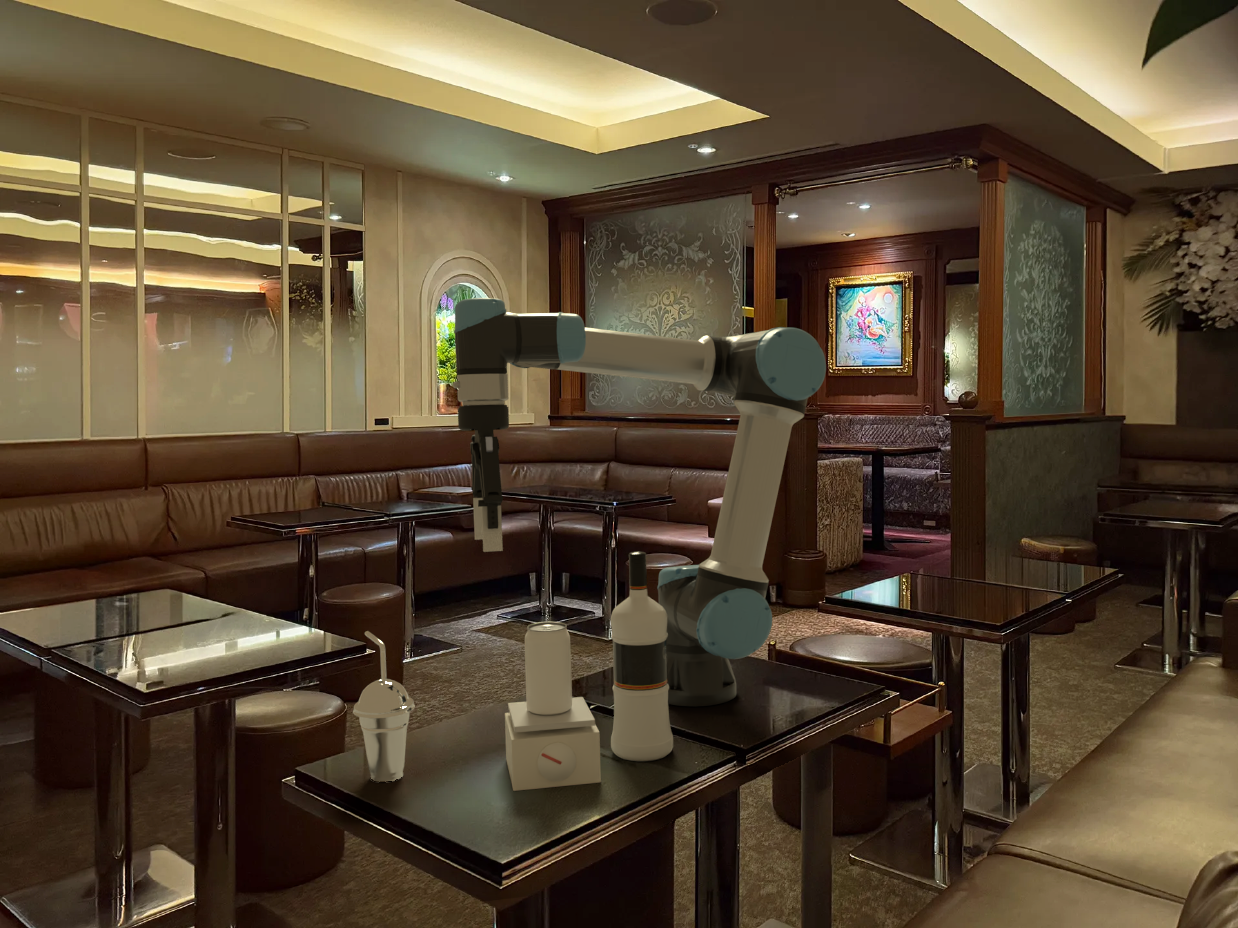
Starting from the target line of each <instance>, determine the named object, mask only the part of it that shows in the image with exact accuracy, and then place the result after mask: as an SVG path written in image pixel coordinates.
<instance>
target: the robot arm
mask: <svg viewBox="0 0 1238 928" xmlns="http://www.w3.org/2000/svg"><path fill="white" fill-rule="evenodd" d="M453 333H454V342H455V343H454V345H455V347H454V348H455V366H456V379H457V381H453V383H452V387H453V388H454V389H457V392H456V393H457V401H458V402H460V403H461V404H462V405H459V406H458V408H457V420H458V421H457V423H458V424H457V425H458V426H457V427H458V429H459V431H463V432H464V431H470V432H471V431H472V432H473V431H474V434H473V435H471V438H470V440H471V442H470V443H469V444H470V445H469V448H470V454H471V455H470V457H471V461H470V462H471V488H470V489H471V492H472V495H473V498H472V499H473V501H472V503H473V525H474V527H473V529H474V533H473V534H474V540H476V541H477V540H478V541H479V540H482V551H483V552H484V553H486V552H487V553H488V552H503V551H504V550H503V549H504V547H503V525H502V524H503V522H502V503H503V501H504V496H503V491H502V479H501V469H500V456H499V453H500V443H499V438H498V436H495V435H494V430H496V431H497V430H501V431H502V430H506V429H508V428H509V427H510V419H509V418H510V417H509V416H510V415H509V411H510V410H509V406H508V405H507V404H506V403H505V402H506V401H508V400H509V379H508V378H509V375H508V364H510V365H511V366H514V367H517V368H521V369H530V368H536V369H545V370H560V371H568V372H569V371H570V372H578V373H586V374H598V375H606V376H615V377H616V376H617V377H623V378H624V377H626V378H635V379H645V380H651V381H652V380H654V381H664V382H672V383H681V384H691V385H693V387H694V388H695V389H696V390H697V391H699V392H701V391H702V392H709V393H710V392H711V393H716V394H721V395H726V396H730V397H734V401H733V404H734V406H735V408H736V409H737V410H738V412H739V415H740V416H739V420H738V426H737V430H736V436H735V440H734V444H733V448H732V454H731V459H730V463H729V467H728V473H727V478H726V481H725V486H724V491H723V496H722V500H721V506H720V510H719V514H718V519H717V523H716V528H715V534H714V539H713V543H712V548H711V553H710V555H709V557H708V558H707V559H705V560H704V561H702V562H701V563H699V564H693V565H691V564H690V565H680V566H679V565H678V566H668V567H664V568H663V569H661V570H660V571H659V573H658V582H657V583H658V585H657V587H656V588H657V593H658V595H657V596H658V599H657V600H658V604H660V605H661V606H662V607H663V608H664V609H665V611H666V614H667V633H668V637H667V677H668V683H667V684H668V685H669V690H668V705H673V706H678V707H679V706H680V707H706V706H707V707H708V706H714V705H721V704H723V703H727V702H730V701H732V700H733V699H734V698H736V697H737V680H736V677H735V675H734V674H735V673H734V671H733V669H732V666H731V662H730V660H738V659H739V660H740V659H743V658H745V657H749V656H751V655H752V654H753V653H755V652H757V651H758V650H759V649H761V648H762V647H763V645H764V643H765V642H766V641H767V639H768V638H769V636H770V633H771V630H772V628H773V627H772V626H773V612H772V609H771V607H770V606H769V603H768V600H767V599H766V596H767V591H768V586H769V581H770V580H769V578H768V576H767V574H766V573H765V572H764V570H763V564H764V559H765V554H766V549H767V544H768V541H769V536H770V531H771V526H772V521H773V517H774V513H775V509H776V508H775V507H776V503H777V498H778V493H779V489H780V486H781V485H780V484H781V480H782V475H783V471H784V467H785V466H784V465H785V460H786V456H787V451H788V446H789V442H790V437H791V432H792V427H793V425H794V424H795V423H797V422H799V421H800V420H801V419H803V418H804V417H805V412H806V409H807V404H808V399H809V398H810V397H812V396H813V395H814V394H815V393H816V392H818V391H819V389H820V387H821V386H822V385H823V382H824V380H825V378H826V372H827V364H826V362H827V361H826V356H825V354H824V351H823V349H822V348H821V347H820V344H819V342H818V341H817V340H816V338H814V337H813V336H812V335H811V334H810V333H809V332H807V331H805V330H803V329H800V328H797V327H785V326H784V327H783V326H779V327H777V326H776V327H773V328H770V329H768V330H761V331H756V332H755V331H754V332H749V333H745V334H738V335H732V336H731V335H730V336H712V335H704V336H702V337H700V338H699V339H698V340H696V339H695V340H694V339H686V338H678V337H677V338H676V337H668V336H659V335H652V334H644V333H637V332H635V333H634V332H626V331H620V330H619V331H617V330H609V329H602V328H601V329H600V328H593V327H585V323H584V320H583V318H582V317H581V316H580V315H579V314H576V313H564V312H563V311H559V312H547V313H546V312H544V313H542V312H541V313H540V312H538V313H534V312H533V313H527V312H526V313H516V312H507V308H506V304H505V301H504V300H503V299H500V298H491V297H473V298H464V299H462V300H460V301H459V302H457V303H456V305H455V308H454V330H453Z"/></svg>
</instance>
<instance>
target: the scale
mask: <svg viewBox="0 0 1238 928" xmlns="http://www.w3.org/2000/svg"><path fill="white" fill-rule="evenodd" d="M507 705H508V706H507V707H508V708H507V709H508V712H504V730H505V753H506V754H505V758H506V764H507V769H508V774H509V778H510V782H511V788H512V791H514V792H515V791H523V790H525V791H528V790H535V789H537V790H538V789H545V788H555V787H556V788H557V787H565V786H579V785H586V784H596V783H597V784H598V783H601V782H602V779H601V777H602V776H601V770H602V769H601V744H600V743H601V741H600V738H601V735H600V731H599V728H598V727H597V725H596V718H595V717H594V715H593V714H592V712H591V710H590V708H589V706H588V704H587V702H586V700H585V699H584V697H583V696H577V697H572V707H571V708H570V710H569V711H568V712H566V713H563V714H560V715H553V716H540V715H534V714H532V713H530V712H529V710H528V709H527V702H526V701H517V702H508V703H507Z"/></svg>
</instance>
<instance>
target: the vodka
mask: <svg viewBox="0 0 1238 928" xmlns="http://www.w3.org/2000/svg"><path fill="white" fill-rule="evenodd" d="M628 568H629V569H628V570H629V571H628V573H629V577H628V578H629V579H628V580H629V582H628V584H629V595H628V597H627V598H625V599H624V600H623V601H621V602H620V603H619V604H617V605H616V606H615V607H614V608H613V610H612V612H611V616H610V627H611V639H612V659H613V660H612V661H613V686H612V691H613V703H614V706H613V707H614V709H613V715H614V716H613V726H612V732H611V733H612V734H611V736H610V749H611V750H612V753H614V755H615V756H617V757H618V758H620V759H623V760H626V761H632V762H638V763H639V762H652V761H656V760H660V759H663V758H665V757H666V756H667V755H669V754H670V753H671V752H672V750H673V748H674V736H673V732H672V729H671V728H672V727H671V722H670V713H669V710H670V709H669V704H668V690H669V685H668V684H667V683H668V677H667V637H668V633H667V614H666V611H665V609H664V608H663V607H662V606H661V605H660V604H659V602H657V601H656V600H654V599H652V598H651V597H650V596H649V595H648V585H647V583H648V581H647V579H648V578H647V553H646V551H645V552H644V551H637V550H636V551H631V552H629V553H628Z"/></svg>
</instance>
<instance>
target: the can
mask: <svg viewBox="0 0 1238 928" xmlns="http://www.w3.org/2000/svg"><path fill="white" fill-rule="evenodd" d="M567 628H568V627H567V624H566V623H564V622H559V621H541V622H540V621H539V622H535V623H531V624H528V626H526V629H527V631H526V633H525V635H524V663H525V664H524V665H525V666H524V667H525V669H524V671H525V696H526V698H525V699H526V701H525V702H527V709H528V710H529V712H530V713H532V714H534V715H540V716H553V715H560V714H563V713H566V712H568V711H569V710H570V708H571V707H572V698H573V693H572V692H573V690H572V686H573V685H572V654H571V651H572V650H571V636H570V633H569V632H568V629H567Z"/></svg>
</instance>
